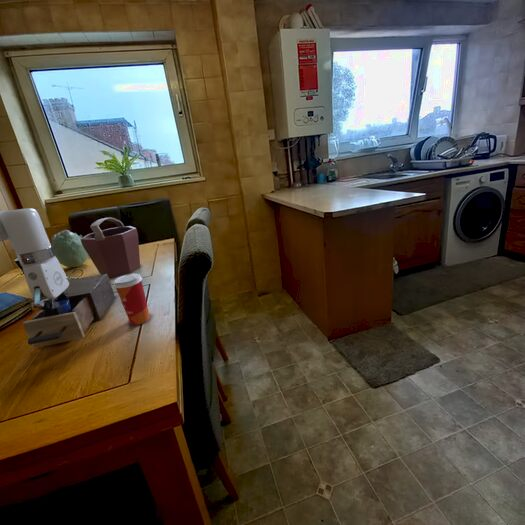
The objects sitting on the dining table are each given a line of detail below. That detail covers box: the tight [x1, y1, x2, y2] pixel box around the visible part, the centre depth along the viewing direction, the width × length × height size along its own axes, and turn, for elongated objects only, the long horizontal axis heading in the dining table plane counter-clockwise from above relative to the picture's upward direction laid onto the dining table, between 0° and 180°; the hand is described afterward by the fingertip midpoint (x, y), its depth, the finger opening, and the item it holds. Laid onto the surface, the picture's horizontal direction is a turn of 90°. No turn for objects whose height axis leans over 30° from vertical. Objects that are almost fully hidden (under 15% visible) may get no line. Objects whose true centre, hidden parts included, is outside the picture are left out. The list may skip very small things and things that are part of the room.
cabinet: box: [44, 274, 116, 322], centre depth 93 cm, size 17×14×10 cm
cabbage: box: [51, 229, 90, 268], centre depth 144 cm, size 16×19×20 cm
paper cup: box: [113, 273, 151, 326], centre depth 82 cm, size 8×8×14 cm
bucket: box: [80, 216, 141, 278], centre depth 128 cm, size 24×22×25 cm
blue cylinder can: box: [55, 300, 72, 314], centre depth 79 cm, size 6×6×4 cm
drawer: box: [22, 295, 96, 349], centre depth 79 cm, size 20×12×8 cm, turn 12°
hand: (61, 315), depth 79 cm, fingers closed on blue cylinder can, 5 cm apart
